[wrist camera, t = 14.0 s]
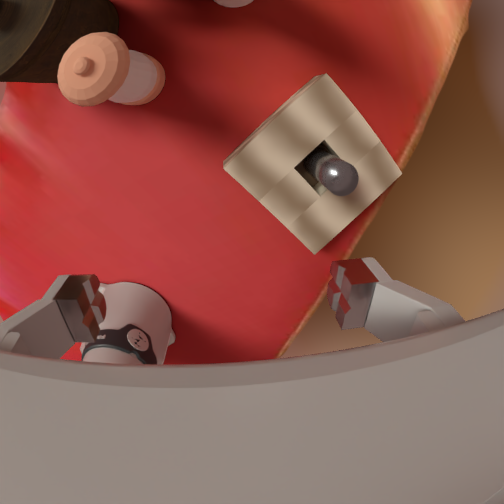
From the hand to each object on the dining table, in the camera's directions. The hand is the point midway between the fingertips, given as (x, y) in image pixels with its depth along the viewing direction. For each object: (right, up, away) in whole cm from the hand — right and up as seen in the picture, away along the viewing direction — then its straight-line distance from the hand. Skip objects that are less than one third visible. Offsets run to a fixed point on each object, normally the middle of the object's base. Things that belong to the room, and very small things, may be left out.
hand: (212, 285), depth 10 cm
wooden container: (-25, +32, +18) cm, 44 cm away
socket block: (+10, +14, +31) cm, 36 cm away
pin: (+11, +14, +30) cm, 35 cm away
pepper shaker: (-14, +24, +23) cm, 37 cm away
